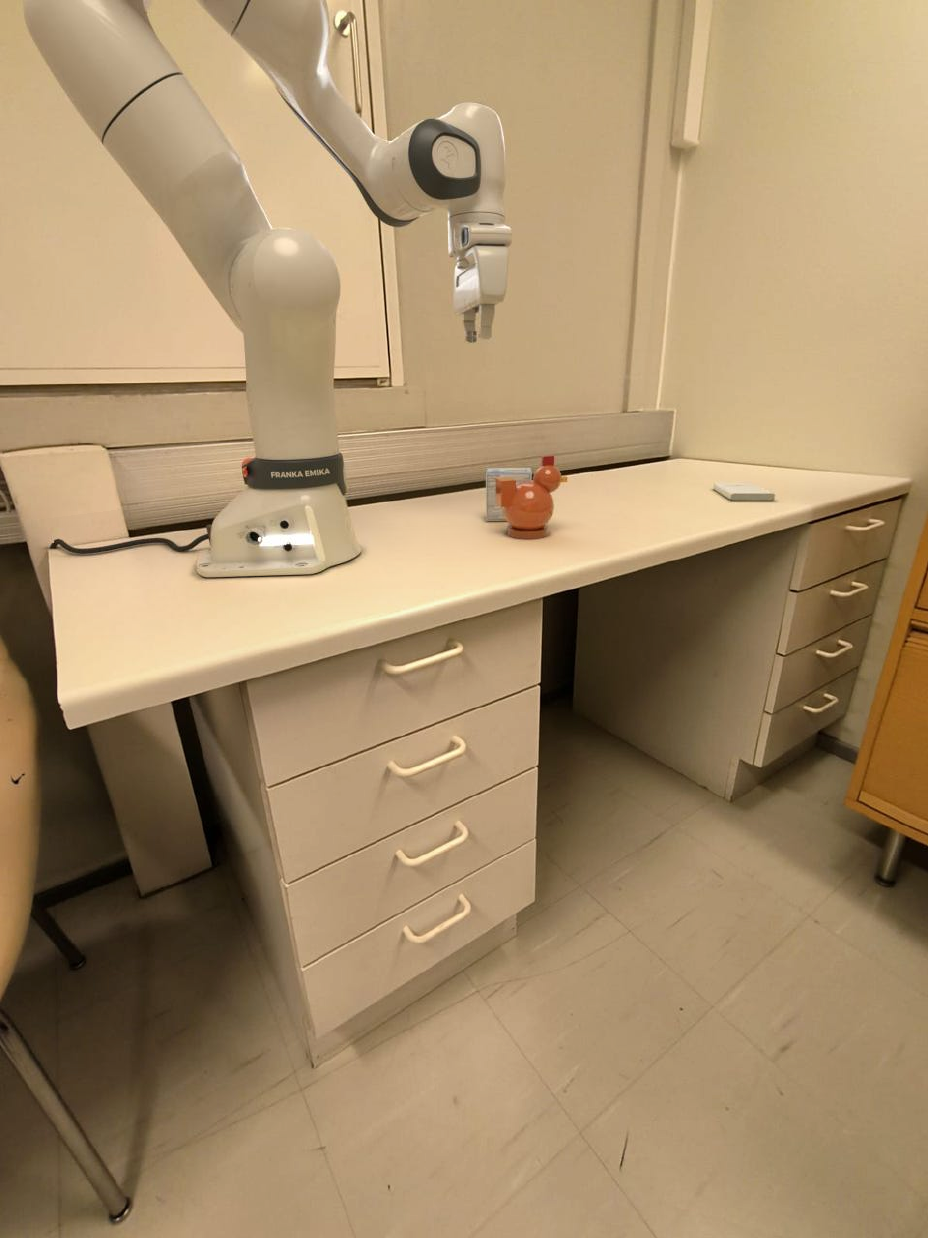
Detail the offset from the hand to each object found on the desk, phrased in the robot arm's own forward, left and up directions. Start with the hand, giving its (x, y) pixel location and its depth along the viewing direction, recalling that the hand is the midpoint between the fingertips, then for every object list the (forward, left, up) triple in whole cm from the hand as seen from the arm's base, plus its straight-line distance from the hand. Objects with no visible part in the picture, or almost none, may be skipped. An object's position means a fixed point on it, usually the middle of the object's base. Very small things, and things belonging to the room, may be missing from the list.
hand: (477, 341), depth 93 cm
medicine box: (+4, -5, -29) cm, 30 cm away
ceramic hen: (+4, -16, -29) cm, 33 cm away
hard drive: (+56, 0, -29) cm, 63 cm away
